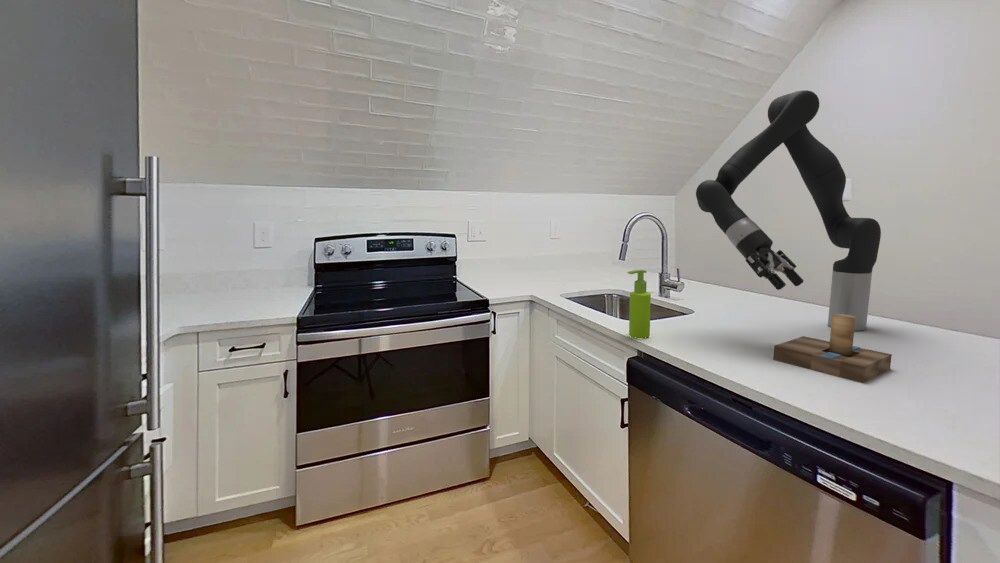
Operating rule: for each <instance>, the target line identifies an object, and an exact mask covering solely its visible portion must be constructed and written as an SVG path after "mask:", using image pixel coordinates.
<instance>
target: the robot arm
mask: <svg viewBox="0 0 1000 563" xmlns="http://www.w3.org/2000/svg"><path fill="white" fill-rule="evenodd" d="M819 109H820V99H819V97H818V95H817V94H816V93H815V92H814V91H811V90H798V91H794V92H791V93H787V94H784V95H781V96H779V97H776V98H775V99H773V100H772V101H771V102H770V104H769V106H768V108H767V119H768V121H769V125H768V126H767V127H766V128H765V129H763V131H761V132H760V133H759V134H758V135H756V136H754V137H753V138H752V139H751V140H749V141H748V142H746V143H745V144H743V146H741V147H740V148H739V149H738V150H736V151H735V152H734V153H733V154H732V155H731V156H730V158H728V160H727V161H726V162H725V163H724V164H723V165H722V166H721V167H720V168H719V170H718V173H717V176H716V178H715V180H713V179H708V180H703V181H702V182H700V183H699V184H698V186H697V188H696V190H695V197H696V200H697V205H698V208H699V209H700V210H701V211H702V212H705V213H708V214H709V213H710V214H711V215H712V218H713V219H714V222H715V224H716V225H717V226H718V227H719V229H720V230H721V231H722V232H723V233H724V235H726V237H727V238H728V240H729V242H730V243H731V244H732V245H733V246H734V247H735V249H736V250H737V251H738V252H739V253H740V254H741V255H742V256H743V258H745V263H747V264H748V266H749V267H750V268H751V269H752V270H753V272H754V273H755V274H756V275H757V277H759V278H760V279H761V278H762V277H763V278H764V279H765V280H768V281H769V282H770V283H771V285H772V286H773V287H774V288H775V289H776V290H778V291H779V290H782V289H783V288H784V287H785V286H786V285H787V284H786V283H785V281H784V280H783V279H782V278H781V276H780V275H778V274H777V272H780V273H782V274H783V275H784V276H785V277H786V278H787V279H788V280H789V281H790V283H791V284H792V285H794V286H795V287H799V286H800V285H801V284H803V283H804V279H803V278H802V277H801V276H800V275H799V274H798V273H797V272H796V270H795V269H796V268H797V265H796V264H795V263H794V262H793V261H792V259H790V258H789V256H787V255H786V254H785V253H784V252H783V250H781V249H779V250H778V251H777V252H776V251H774V250H773V249H772V246H773V244H774V241H773V240H772V239H771V238H770V237H769V236H768V234H766V233H765V231H764V230H763V229H762V228H761V227H760V226H759V225H758V224H757V223H756V222H755V221H754V220H752V219H751V218H750V217H749V216H748V215H747V214H746V212H744V211H743V210H742V208H740V207H739V206H738V205H737V204H736V202H735V201H734V199H733V198H732V196H733V194H734V193H735V191H736V190H737V188H738V187H739V185H740V184H741V183H743V181H744V180H745V179H747V177H748V176H750V174H752V172H753V171H754V170H755V169H756V168H758V166H760V164H761V163H762V162H763V161H764V160H765V159H767V157H768V156H769V155H771V154H772V153H773V152H774V151H775V150H777V148H778V147H780V146H781V145H782V144H783V145H784V146H785V148H786V149H787V151H788V153H789V155H790V157H791V160H793V163H794V164H795V166H796V168H797V170H798V172H799V175H800V176H801V179H802V181H803V183H804V185H805V186H806V188H807V190H808V192H809V194H810V195H811V197H812V200H813V201H814V204H815V206H816V208H817V210H818V212H819V213H820V214H819V215H820V218H821V219H822V220H821V221H822V223H823V226H824V227H825V231H826V235H827V236H828V239H829V240H830V242H831V243H832V245H834V246H835V247H837V248H840V249H849V250H848V254H847V256H845V257H844V258H842V259H839V260H836V261H834V263H833V264H832V274H831V284H830V286H831V287H830V295H829V296H830V298H829V307H828V308H829V309H828V315H827V316H828V318H827V326H829V327H830V328H831V323H832V315H833V314H844V315H851V316H854V317H856V319H855V328H854V332H855V331H859V332H860V331H865V330H867V325H868V324H867V323H868V314H869V306H870V304H869V303H870V295H871V285H872V275H873V270H874V269H873V268H874V266H875V264H876V262H877V260H878V256H879V255H878V254H879V248H880V243H881V236H882V230H881V226H880V223H879V222H878V221H877V220H875V219H874V218H871V217H851V216H850V215H849V213H848V211H847V210H846V207H845V205H844V202H843V201H844V200H843V197H844V192H845V189H846V183H847V176H846V172H845V171H844V169H843V167H842V164H841V162H840V160H839V159H838V157H837V156H836V155H835V153H833V151H832V150H830V149H829V147H827V146H825V144H823V143H822V142H820V141H819V140H818V139H817V138H816V137H815V136H814V135H813V134H812V132H811V131H810V129H808V127H807V124H809V123H810V122H811V121H812V120H813V119H814V118H815V117H816V115H817V114H818V112H819ZM775 272H776V273H775Z"/></svg>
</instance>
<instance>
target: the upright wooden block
mask: <svg viewBox="0 0 1000 563" xmlns="http://www.w3.org/2000/svg"><path fill="white" fill-rule="evenodd" d="M855 319H856V317H854V316H851V315H844V314H833V315H832V323H831V327H830V337H829V342H830V344H829V352H831V353H835V354H840V355H841V356H845V357H849V358H850V357H851V356H852V348H853V346H854V336H855V331H854V328H855Z"/></svg>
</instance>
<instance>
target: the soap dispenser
mask: <svg viewBox="0 0 1000 563" xmlns="http://www.w3.org/2000/svg"><path fill="white" fill-rule="evenodd" d="M647 272H648V271H647V270H644V269H633V270H629V271H627V274H629V275H634V274H637V279H636V280H634V285H633V286H634V290H633V291H631V292H629V310H628V311H629V320H628V321H629V322H628V323H629V324H628V336H629V335H630V336H631V337H630V336H629V337H630V338H632V337H636V338H635V339H637V338H645V337H649V336H650V335H651V334H650V333H651V332H650V331H651V330H650V329H651V300H652V299H651V296H652V295H651V292H648V291H647V284H648V282H647V280H644V276H645V275H644V274H646V273H647ZM649 338H650V337H649Z"/></svg>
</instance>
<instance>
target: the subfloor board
mask: <svg viewBox="0 0 1000 563" xmlns="http://www.w3.org/2000/svg"><path fill="white" fill-rule="evenodd" d="M829 344H830V340H824V339H818V338H813V337H809V336H805V335H803V336H799V337H796V338H794V339H791V340H788V341H784V342H781V343H779V344H775V345H774V346H773V357H772V359H773V360H775V361H779V362H782V363H787V364H791V365H794V366H796V367H797V366H798V367H801V368H806V369H809V370H813V371H817V372H820V373H825V374H828V375H832V376H837V377H839V378H844V379H847V380H850V381H855V382H859V383H863V384H864V383H865V382H867V381H869V380H871V379H873V378H875V377H877V376H879V375H881V374H883V373H885V372H887V371H890V370H891V363H892V353H886V352H882V351H878V350H872V349H868V348H864V347H863V348H862V347H861V346H857V345H853V348H852V356H851V357H850V358H849V357H845V356H841V355H840V354H835V353H831V352H829Z"/></svg>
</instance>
